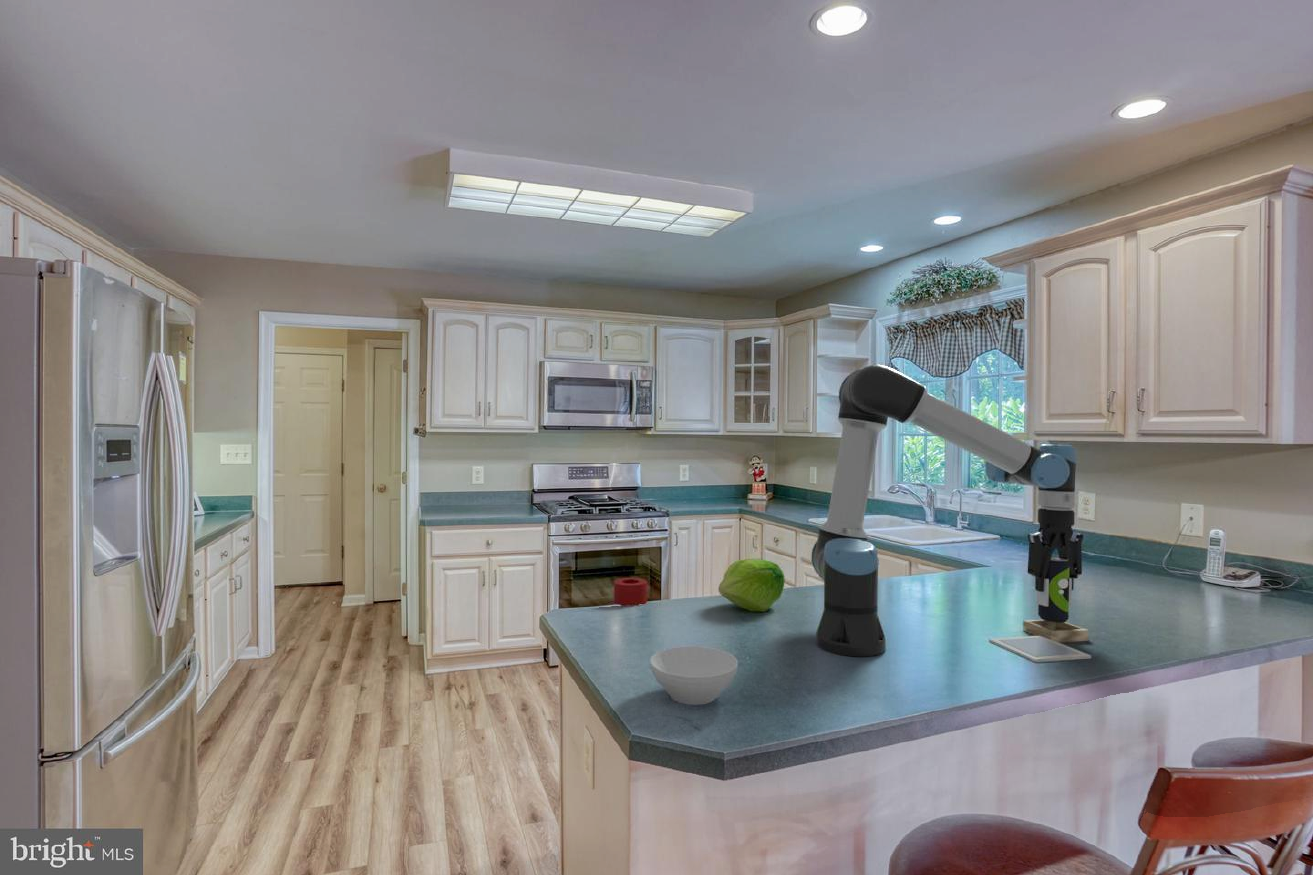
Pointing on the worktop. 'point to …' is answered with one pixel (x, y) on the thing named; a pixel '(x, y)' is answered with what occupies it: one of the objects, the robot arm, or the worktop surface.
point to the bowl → (693, 672)
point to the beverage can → (1057, 592)
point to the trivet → (1039, 648)
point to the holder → (1063, 633)
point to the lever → (630, 591)
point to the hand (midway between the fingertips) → (1054, 604)
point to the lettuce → (753, 584)
